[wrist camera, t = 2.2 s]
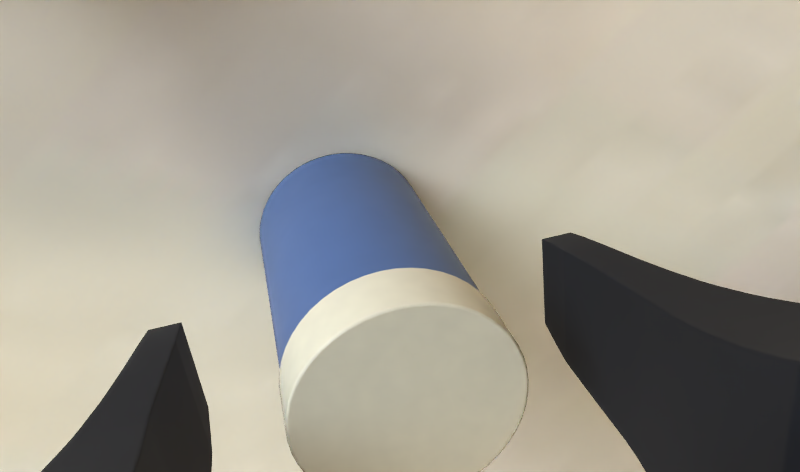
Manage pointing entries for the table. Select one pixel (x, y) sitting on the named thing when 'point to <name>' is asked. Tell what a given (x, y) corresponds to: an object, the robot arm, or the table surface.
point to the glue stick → (381, 329)
